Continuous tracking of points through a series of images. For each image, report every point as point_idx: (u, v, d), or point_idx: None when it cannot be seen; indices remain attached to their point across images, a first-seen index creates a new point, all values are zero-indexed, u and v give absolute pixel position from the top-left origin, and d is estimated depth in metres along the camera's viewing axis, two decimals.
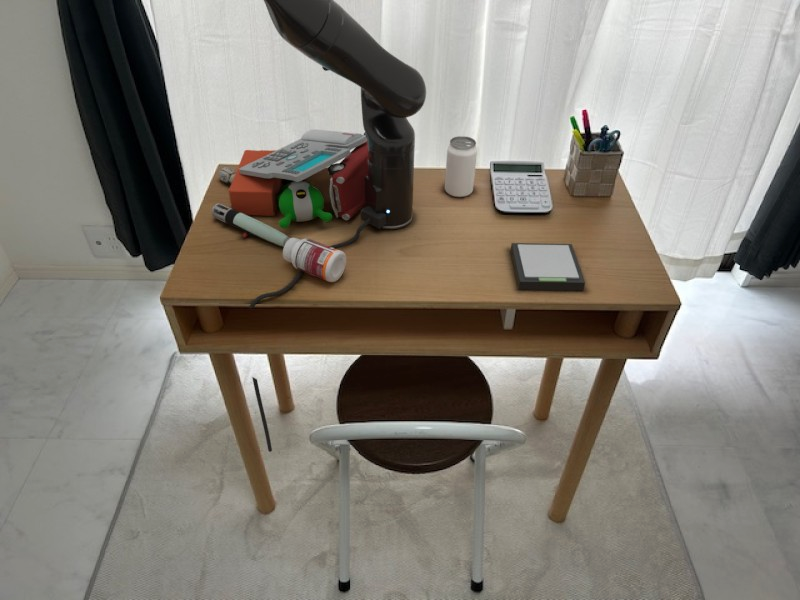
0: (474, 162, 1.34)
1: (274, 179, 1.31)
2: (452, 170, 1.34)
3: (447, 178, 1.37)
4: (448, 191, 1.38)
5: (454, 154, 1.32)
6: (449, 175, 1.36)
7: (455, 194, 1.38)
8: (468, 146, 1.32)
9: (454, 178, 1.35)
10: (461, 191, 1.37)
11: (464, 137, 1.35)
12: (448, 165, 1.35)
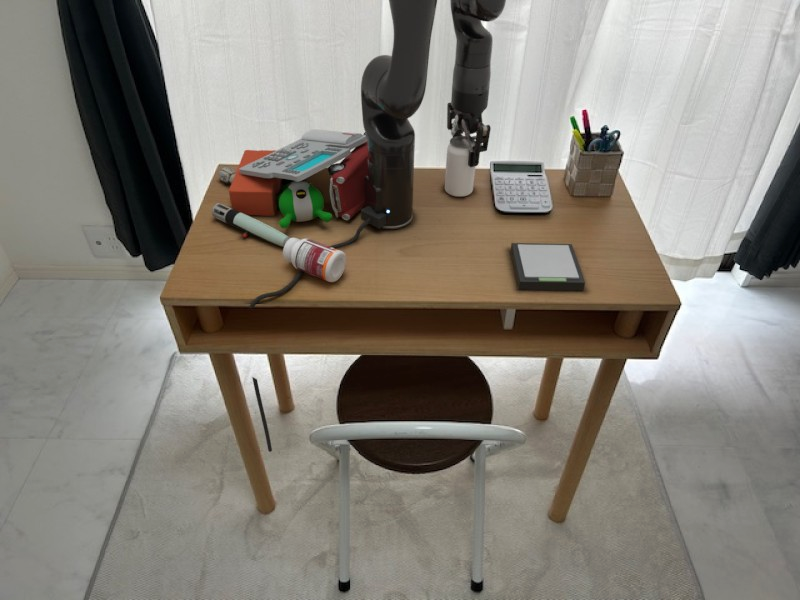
0: None
1: (274, 179, 1.31)
2: (452, 170, 1.34)
3: (447, 178, 1.37)
4: (448, 191, 1.38)
5: (453, 153, 1.32)
6: (448, 175, 1.36)
7: (455, 193, 1.38)
8: (468, 146, 1.32)
9: (454, 178, 1.35)
10: (461, 191, 1.37)
11: (464, 137, 1.35)
12: (448, 165, 1.35)
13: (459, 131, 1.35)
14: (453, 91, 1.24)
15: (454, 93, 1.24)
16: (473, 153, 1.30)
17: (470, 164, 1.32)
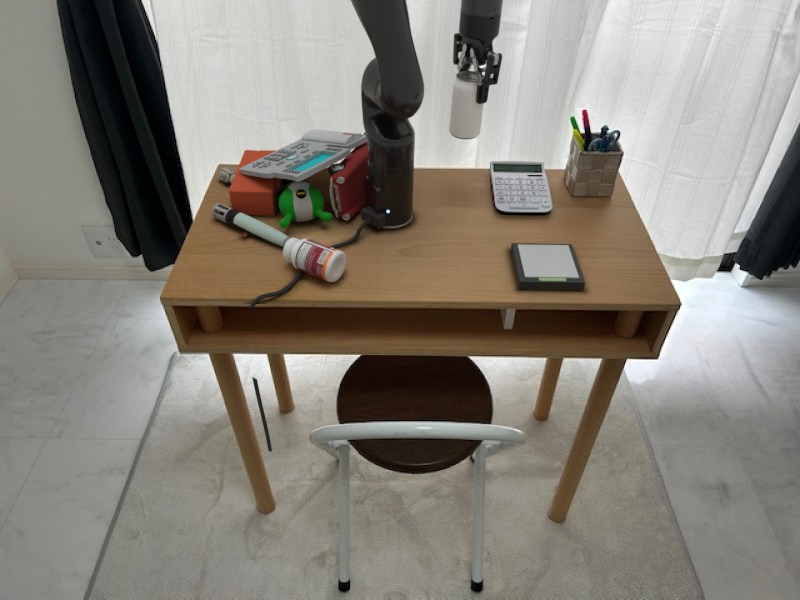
0: None
1: (274, 179, 1.31)
2: (458, 107, 1.23)
3: (452, 117, 1.25)
4: (453, 132, 1.27)
5: (460, 88, 1.20)
6: (454, 114, 1.24)
7: (461, 135, 1.26)
8: (476, 80, 1.20)
9: (460, 117, 1.24)
10: (467, 132, 1.25)
11: (471, 72, 1.24)
12: (454, 102, 1.23)
13: (467, 66, 1.24)
14: (462, 14, 1.13)
15: (463, 17, 1.13)
16: (482, 87, 1.19)
17: (478, 100, 1.21)
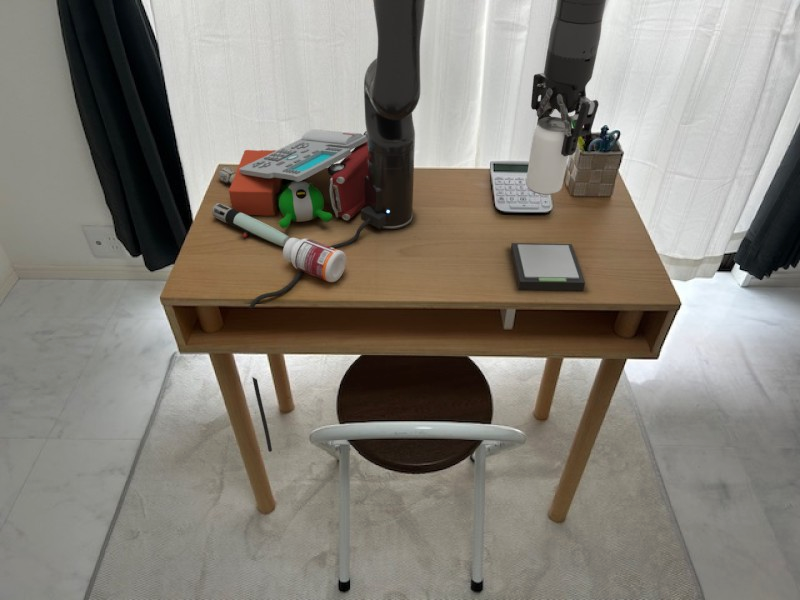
0: None
1: (274, 179, 1.31)
2: (540, 160, 1.05)
3: (532, 171, 1.08)
4: (532, 187, 1.09)
5: (544, 139, 1.03)
6: (534, 167, 1.07)
7: (542, 190, 1.08)
8: (562, 129, 1.03)
9: (542, 171, 1.06)
10: (549, 187, 1.08)
11: (554, 118, 1.06)
12: (535, 154, 1.06)
13: (548, 111, 1.06)
14: (550, 56, 0.95)
15: (551, 59, 0.95)
16: (570, 138, 1.01)
17: (565, 152, 1.03)
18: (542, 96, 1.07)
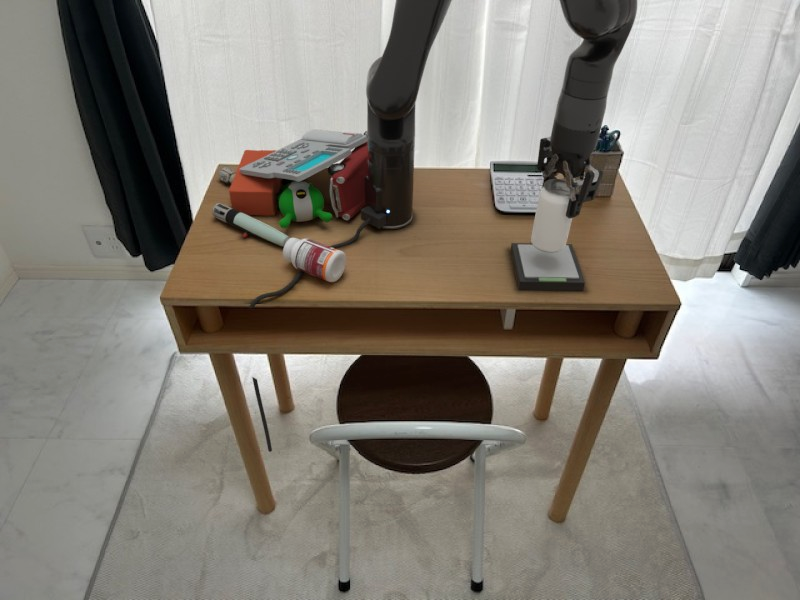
0: None
1: (274, 179, 1.31)
2: (545, 221, 1.09)
3: (537, 230, 1.11)
4: (537, 245, 1.12)
5: (550, 202, 1.06)
6: (540, 227, 1.10)
7: (546, 248, 1.12)
8: (567, 192, 1.06)
9: (547, 231, 1.09)
10: (554, 246, 1.11)
11: (559, 180, 1.09)
12: (540, 214, 1.09)
13: (553, 173, 1.09)
14: (557, 126, 0.98)
15: (558, 129, 0.98)
16: (575, 202, 1.04)
17: (569, 215, 1.07)
18: (548, 158, 1.10)
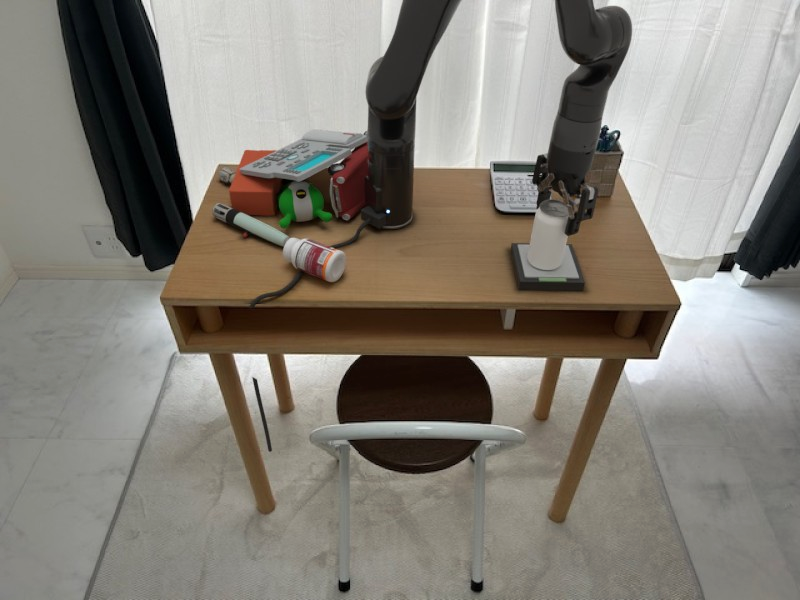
0: None
1: (274, 179, 1.31)
2: (541, 240, 1.11)
3: (533, 249, 1.14)
4: (533, 263, 1.15)
5: (545, 223, 1.09)
6: (535, 246, 1.13)
7: (542, 267, 1.14)
8: (562, 213, 1.09)
9: (543, 250, 1.12)
10: (549, 264, 1.14)
11: (555, 201, 1.12)
12: (536, 234, 1.12)
13: None
14: (553, 147, 1.01)
15: (554, 150, 1.01)
16: (573, 220, 1.06)
17: (568, 233, 1.08)
18: (543, 172, 1.12)
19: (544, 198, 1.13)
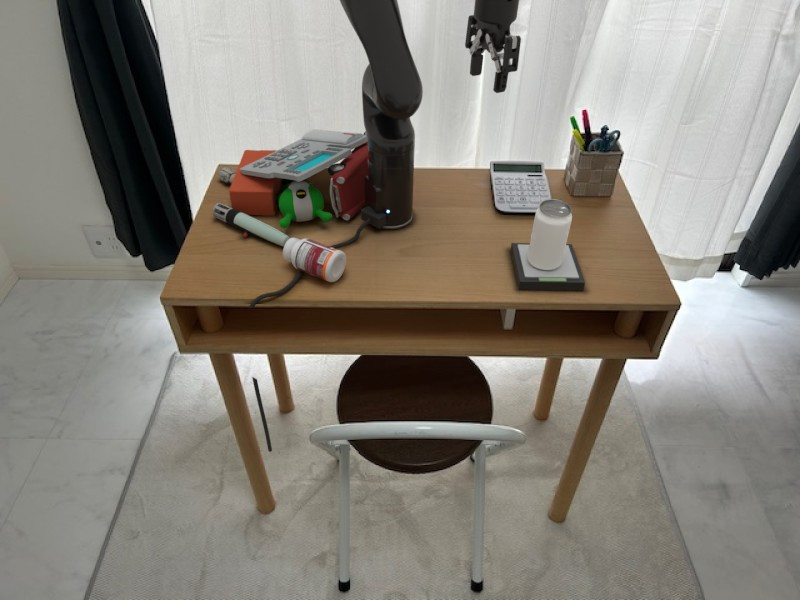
0: (568, 231, 1.11)
1: (274, 179, 1.31)
2: (541, 240, 1.11)
3: (533, 249, 1.14)
4: (533, 263, 1.15)
5: (545, 223, 1.09)
6: (535, 246, 1.13)
7: (542, 267, 1.14)
8: (562, 213, 1.09)
9: (543, 250, 1.12)
10: (549, 264, 1.14)
11: (555, 201, 1.12)
12: (536, 234, 1.12)
13: (480, 49, 1.16)
14: None
15: None
16: (500, 74, 1.10)
17: (496, 89, 1.12)
18: (476, 36, 1.16)
19: (476, 61, 1.17)
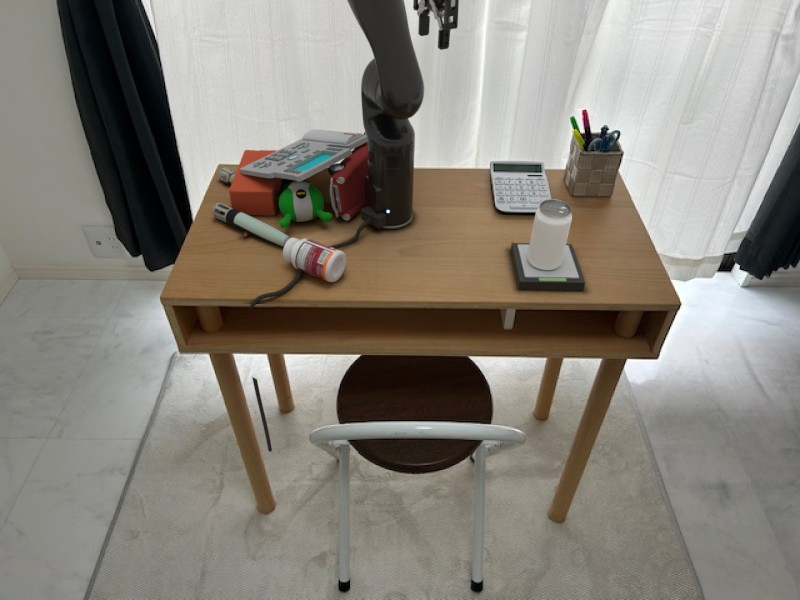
0: (568, 231, 1.11)
1: (274, 179, 1.31)
2: (541, 240, 1.11)
3: (533, 249, 1.14)
4: (533, 263, 1.15)
5: (545, 223, 1.09)
6: (535, 246, 1.13)
7: (542, 267, 1.14)
8: (562, 213, 1.09)
9: (543, 250, 1.12)
10: (549, 264, 1.14)
11: (555, 201, 1.12)
12: (536, 234, 1.12)
13: (426, 11, 1.26)
14: None
15: None
16: (443, 32, 1.21)
17: (440, 46, 1.23)
18: None
19: (423, 22, 1.27)
